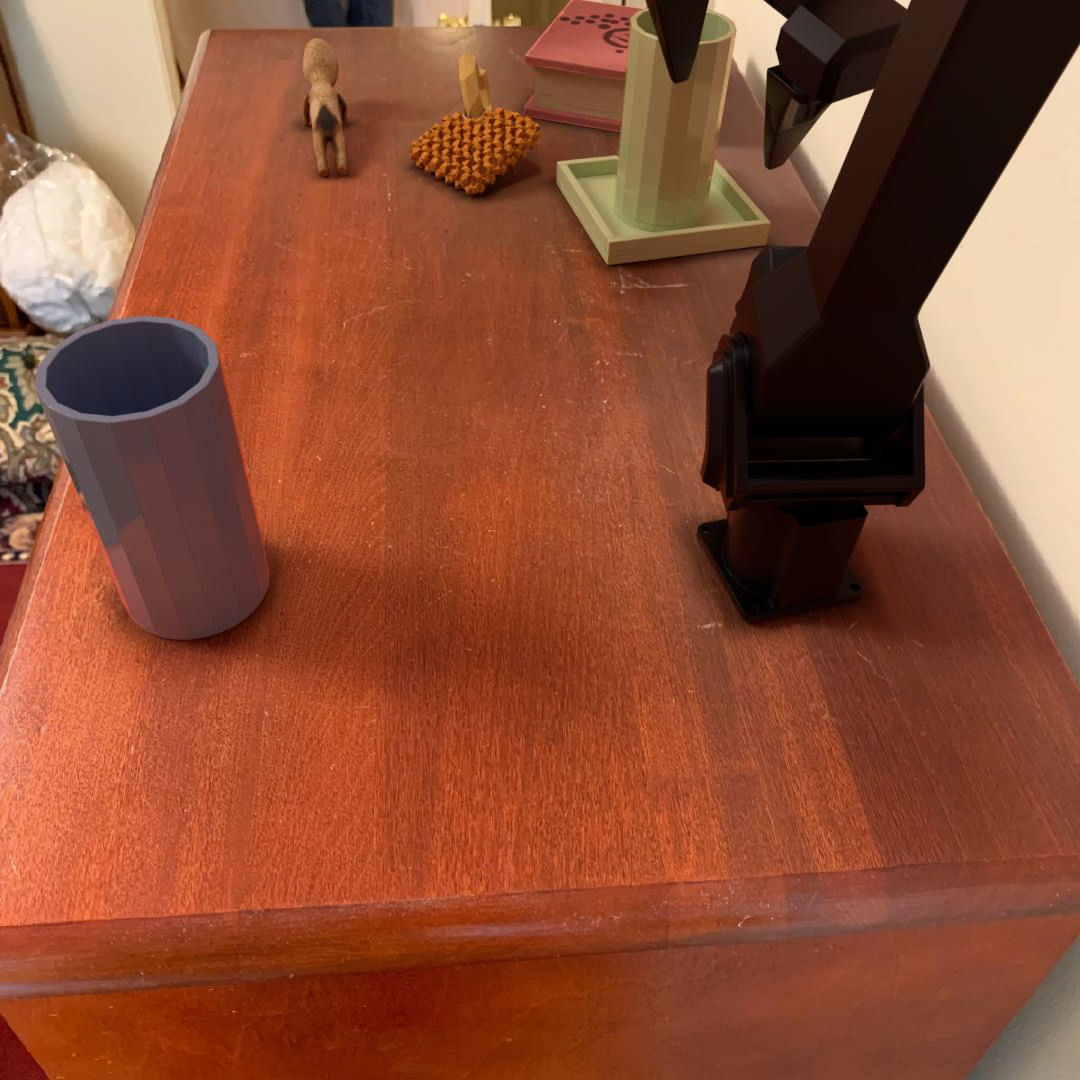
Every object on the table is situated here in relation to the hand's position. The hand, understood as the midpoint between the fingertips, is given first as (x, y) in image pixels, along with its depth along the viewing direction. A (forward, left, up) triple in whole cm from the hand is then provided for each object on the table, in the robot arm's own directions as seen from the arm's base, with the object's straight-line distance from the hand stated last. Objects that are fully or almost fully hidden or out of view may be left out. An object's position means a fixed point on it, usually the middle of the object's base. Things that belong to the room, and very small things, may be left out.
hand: (725, 122), depth 59 cm
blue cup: (-17, +33, -12) cm, 39 cm away
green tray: (+12, -2, -12) cm, 17 cm away
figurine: (+30, +20, -12) cm, 38 cm away
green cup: (+11, -2, -12) cm, 16 cm away
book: (+32, -7, -12) cm, 35 cm away
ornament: (+24, +9, -12) cm, 28 cm away
